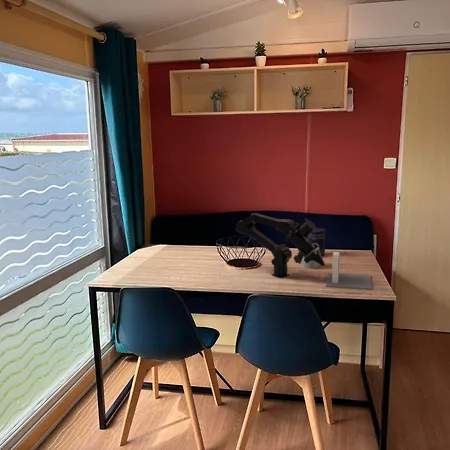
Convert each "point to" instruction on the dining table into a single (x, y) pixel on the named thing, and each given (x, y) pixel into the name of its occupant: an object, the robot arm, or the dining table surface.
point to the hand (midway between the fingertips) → (324, 265)
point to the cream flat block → (335, 267)
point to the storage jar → (318, 239)
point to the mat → (350, 281)
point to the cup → (311, 263)
